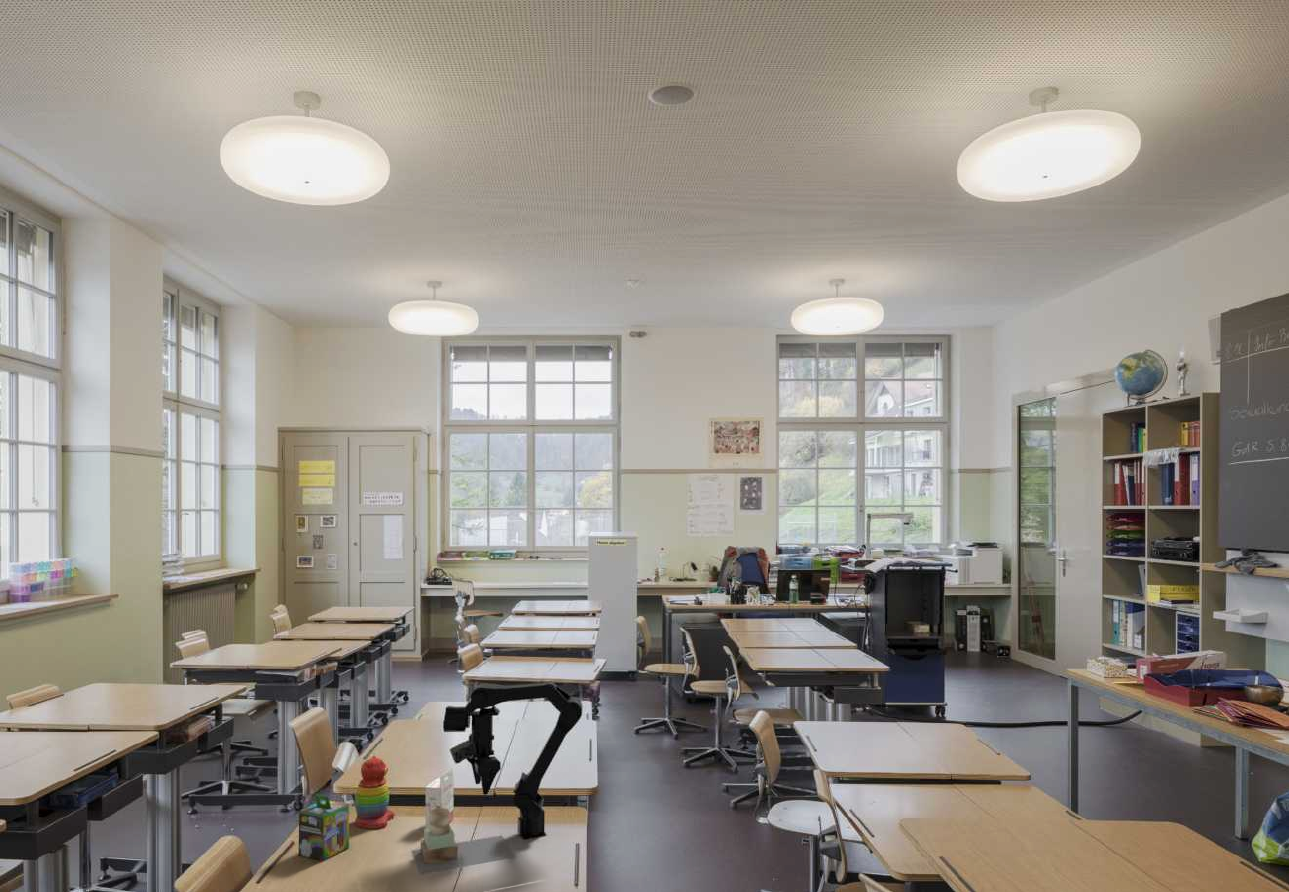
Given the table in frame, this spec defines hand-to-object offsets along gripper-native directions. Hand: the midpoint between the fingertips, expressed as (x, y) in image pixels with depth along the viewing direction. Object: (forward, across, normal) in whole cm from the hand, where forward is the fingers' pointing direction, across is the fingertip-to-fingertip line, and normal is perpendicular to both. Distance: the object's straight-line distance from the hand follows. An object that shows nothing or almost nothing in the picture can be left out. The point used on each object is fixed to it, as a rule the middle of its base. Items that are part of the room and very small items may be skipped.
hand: (481, 789), depth 226 cm
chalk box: (+13, -7, -40) cm, 43 cm away
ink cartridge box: (+13, -13, -9) cm, 20 cm away
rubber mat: (+12, +10, -7) cm, 18 cm away
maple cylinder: (+6, +9, -13) cm, 17 cm away
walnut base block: (+12, +9, -13) cm, 20 cm away
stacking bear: (+13, -23, -26) cm, 37 cm away
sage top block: (+9, +9, -13) cm, 18 cm away
